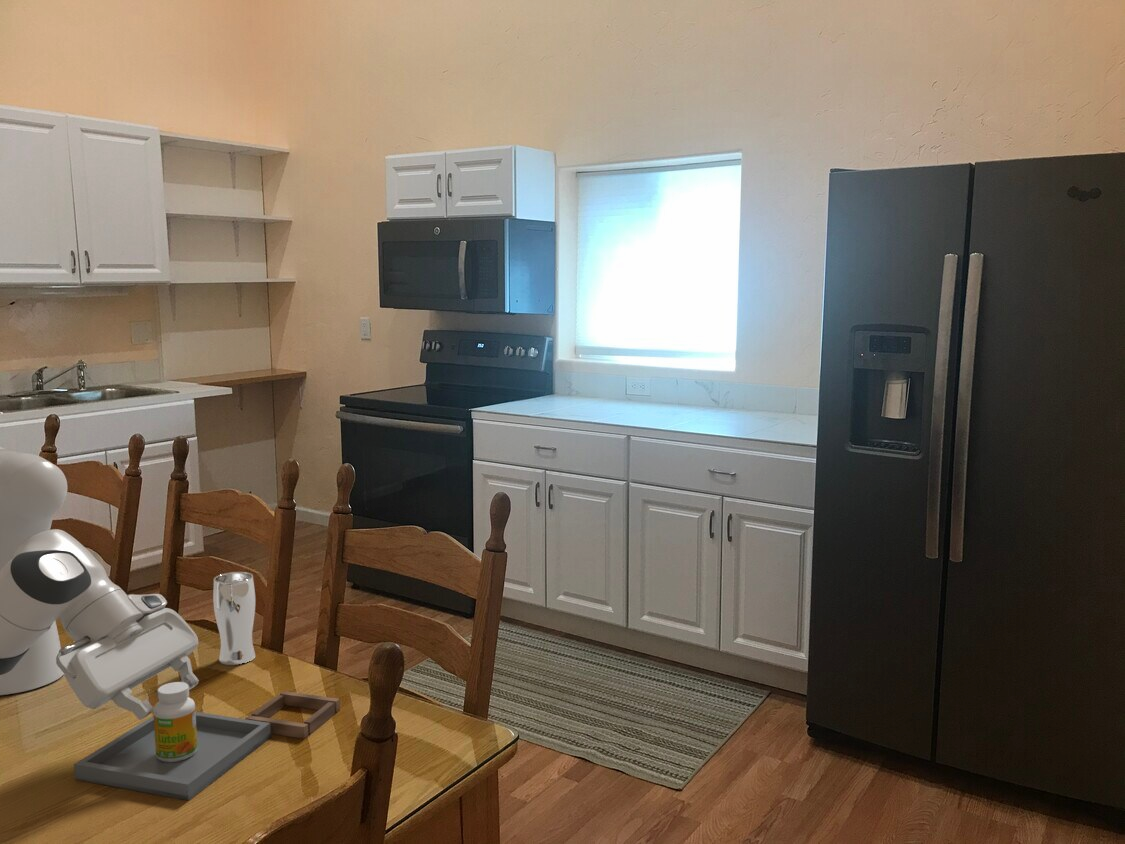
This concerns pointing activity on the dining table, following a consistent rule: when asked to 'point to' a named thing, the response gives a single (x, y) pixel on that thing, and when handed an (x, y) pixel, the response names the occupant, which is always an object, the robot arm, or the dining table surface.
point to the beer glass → (235, 616)
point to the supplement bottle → (175, 723)
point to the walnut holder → (294, 729)
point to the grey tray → (142, 771)
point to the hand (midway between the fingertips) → (171, 700)
